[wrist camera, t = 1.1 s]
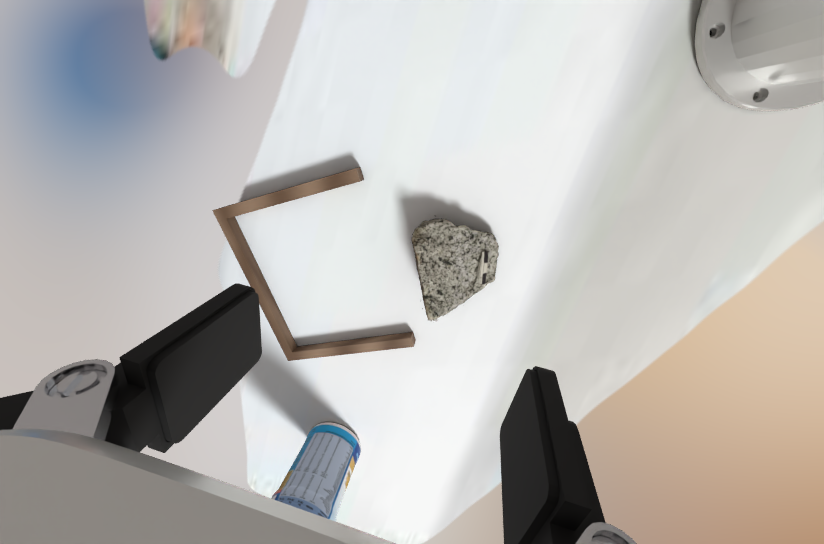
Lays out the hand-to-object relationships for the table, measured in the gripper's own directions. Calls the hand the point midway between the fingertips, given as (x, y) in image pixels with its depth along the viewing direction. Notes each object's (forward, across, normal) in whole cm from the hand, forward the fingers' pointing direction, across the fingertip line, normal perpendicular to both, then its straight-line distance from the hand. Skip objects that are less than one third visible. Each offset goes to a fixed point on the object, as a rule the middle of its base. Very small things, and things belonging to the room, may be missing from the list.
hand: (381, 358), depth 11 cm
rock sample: (+23, -2, +5) cm, 23 cm away
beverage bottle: (+22, +9, +38) cm, 45 cm away
